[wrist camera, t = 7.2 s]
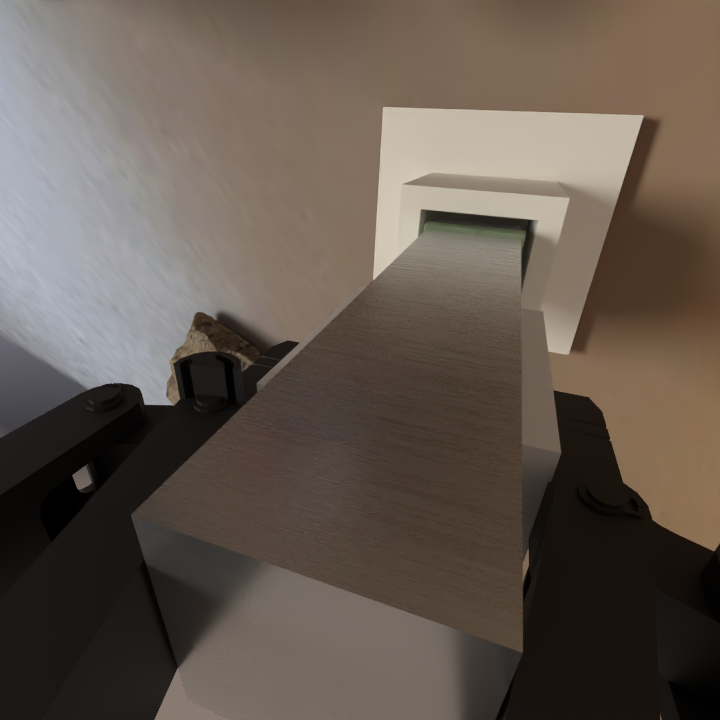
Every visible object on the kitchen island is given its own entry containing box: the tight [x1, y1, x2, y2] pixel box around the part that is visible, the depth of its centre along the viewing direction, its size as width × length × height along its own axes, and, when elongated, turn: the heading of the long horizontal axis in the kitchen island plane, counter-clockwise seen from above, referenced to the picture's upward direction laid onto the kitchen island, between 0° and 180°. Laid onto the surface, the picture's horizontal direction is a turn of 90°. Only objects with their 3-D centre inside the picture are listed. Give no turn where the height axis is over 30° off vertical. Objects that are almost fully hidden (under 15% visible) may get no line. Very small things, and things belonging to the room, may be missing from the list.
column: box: [131, 218, 526, 720], centre depth 13 cm, size 4×4×20 cm
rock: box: [166, 312, 262, 405], centre depth 39 cm, size 11×12×4 cm
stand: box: [373, 107, 644, 355], centre depth 24 cm, size 14×14×9 cm
